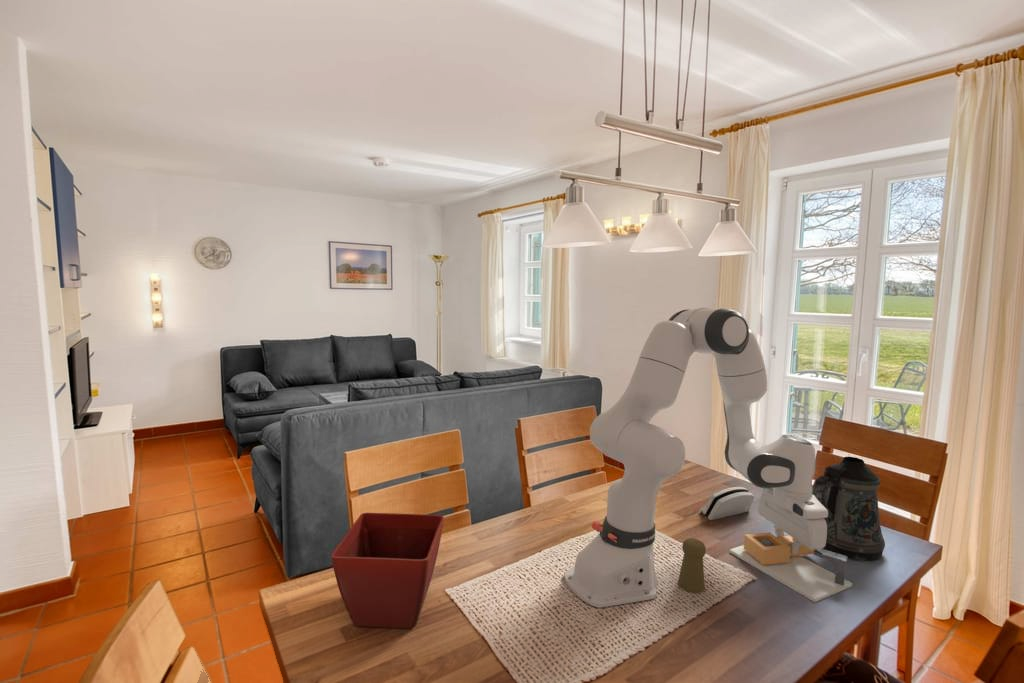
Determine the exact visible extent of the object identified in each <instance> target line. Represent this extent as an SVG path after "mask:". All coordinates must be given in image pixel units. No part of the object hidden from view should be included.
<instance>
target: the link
mask: <svg viewBox="0 0 1024 683" xmlns="http://www.w3.org/2000/svg"><path fill="white" fill-rule="evenodd" d="M792 538H793V537H791V536H790V535H784V536H779V537H777V536H775V535H774V534H773V533H771V532H761V533H750V534H749V533H747V534H744V540H743V545H744V550H746V551H747V552H748V553H749V554H750V555H752V556H753V557H754V558H755V559H756V560H758V561H759V562H760V563H761V564H763V565H766V564H776V563H786V562H789V560H790V556H810V555H814V550H810V549H809V548H807V547H806V546H805V545H803V544H802V545H801V546H800V547H799V551H798V553H797V554H793V553H792V552H790V549H791V547H789V544H793V542H794V541H792ZM763 539H766V540H769V541H771V542H772V546H768V547H765V546H764V545H762V544H761V540H763Z"/></svg>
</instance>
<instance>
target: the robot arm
mask: <svg viewBox="0 0 1024 683" xmlns="http://www.w3.org/2000/svg"><path fill="white" fill-rule="evenodd" d="M695 352H696V353H699V354H705V355H706V354H711V355H712V356H713V357H714V359H715V366H716V372H717V377H718V381H719V385H720V389H721V394H722V395H721V396H722V402H723V403H722V404H723V410H724V418H725V419H724V420H725V426H726V434H727V435H726V437H727V438H726V442H725V447H724V459H725V461H726V463H727V465H728V466H729V467H730V468H731V469H733V470H734V471H736V472H738V473H739V474H740V475H741V476H742V477H744V478H745V479H746V480H748V482H750V483H751V484H752V485H754V486H755V487H758V488H760V489H762V493H761V494H760V497H759V502H758V509H757V511H758V514H759V516H761V517H762V518H764V519H765V520H766V521H768V522H770V523H771V524H773V528H774V532H775V535H776V536H775V537H779V536H785V533H786V534H787V536H791V537H793V538H792V541H794V542H793V544H789V547H791V549H790V552H792V553H793V554H797V553H798V551H799V547H800V546H801V545H802V544H803V545H805V546H806V547H807V548H809V549H810V550H819V549H824V547H825V545H826V538H827V524H826V521H825V519H824V518H826V517H828V510H827V509H826V508H825V507H824V506H823V505H822V504H821V503H820V502H819V501H818V500H817V498H816V497H815V496H814V495H813V479H814V476H815V473H816V458H817V457H816V448H815V447H814V445H813V443H812V442H810V441H808V440H807V439H805V438H803V437H800V436H797V435H792V434H782V435H781V436H780V438H778V439H777V440H775V441H774V442H771V443H768V444H766V445H763V444H761V443H760V442H759V440H758V439H757V438H756V437H755V435H754V433H753V428H752V427H753V426H752V420H751V410H750V409H751V404H753V403H757V402H758V401H759V400H761V399H762V398H763V397H764V396H765V394H766V393H767V391H768V376H767V375H768V374H767V370H766V369H767V368H766V365H765V361H764V356H763V354H762V350H761V346H760V345H759V342H758V340H757V337H756V335H755V333H754V331H752V330H751V329H750V328H749V325H748V322H747V321H746V318H745V317H744V316H743V315H742V313H740V312H739V311H737V310H734V309H730V308H724V307H723V308H708V307H700V308H699V307H698V308H693V309H689V308H688V309H684V310H683V309H682V310H680V311H678V312H675V313H674V314H673V315H671V316H670V318H669V319H668V320H663V321H660V322H657V324H655V326H654V327H653V328H652V330H651V332H650V333H649V335H648V337H647V338H646V341H645V342H644V344H643V347H642V349H641V351H640V354H639V357H638V360H637V363H636V366H635V368H634V371H633V374H632V376H631V379H630V380H629V383H628V386H627V388H625V390H624V392H623V394H622V395H621V397H620V398H619V400H617V402H616V403H615V404H614V405H613V406H612V407H611V408H609V409H608V410H606V411H605V412H602V413H599V414H598V415H597V416H596V417H595V418H594V419H593V422H592V423H591V425H590V428H589V439H590V442H591V444H592V445H593V446H594V447H595V448H596V449H597V450H598V451H600V453H601V454H603V455H604V456H606V457H609V458H610V459H612V460H614V461H617V462H619V463H622V464H623V466H624V473H623V476H622V478H618V479H616V480H615V481H614V482H612V483H611V484H610V485H609V487H608V490H607V498H606V499H607V500H606V515H605V517H604V519H603V522H602V523H600V522H599V521H598V520H594V521H592V523H591V529H593V530H594V531H596V532H597V533H598V532H599V534H598V535H597V536H595V538H593V539H592V540H591V541H590V542H589V543H588V544H587V545H585V547H584V548H583V549H582V550H581V551H579V552H578V553H577V555H576V558H575V563H574V566H573V567H572V568H569V569H567V570H565V571H564V576H563V577H564V582H565V583H566V585H567V587H568V588H569V590H570V591H571V592H572V593H573V594H575V595H576V597H578V598H579V599H580V600H582V601H583V602H584V603H586V604H588V605H590V606H592V607H594V608H598V609H599V608H600V609H601V608H605V607H612V606H613V607H614V606H617V605H623V604H624V605H625V604H631V603H636V602H642V601H649V600H654V599H655V598H656V597H657V591H656V587H657V585H658V578H657V574H656V569H655V559H654V558H655V557H654V542H655V541H656V523H655V514H656V504H657V496H658V493H659V491H660V488H661V486H662V485H663V484H664V482H666V481H667V480H668V479H670V478H672V477H674V476H676V475H677V474H678V473H679V472H680V471H681V469H682V468H683V465H684V464H685V460H686V449H685V444H684V443H683V440H682V439H681V438H679V437H678V436H677V435H675V434H673V433H672V432H670V431H669V430H667V429H665V428H663V427H661V426H657V425H655V424H652V423H650V422H651V420H652V418H654V416H655V415H656V414H658V413H659V412H660V411H663V410H666V409H669V408H670V407H672V406H673V405H674V404H675V402H676V400H677V397H678V394H679V391H680V388H681V386H682V383H683V379H684V377H685V373H686V371H687V368H688V366H689V360H690V358H691V356H692V355H693V354H694V353H695Z"/></svg>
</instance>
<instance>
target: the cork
mask: <svg viewBox="0 0 1024 683" xmlns="http://www.w3.org/2000/svg"><path fill="white" fill-rule="evenodd" d="M706 548H707V547H706V545H705V544H704V542H703V541H701V540H700V539H697V538H685V539H684V541H683V542H682V549H681V550H682V552H683V553H684V554H683V557H682V558H683V559H682V562H681V566H680V567H681V568H680V571H679V576H678V580H677V585H678V586H679V588H681V589H682V590H684V591H685V590H686V592H688V593H691V592H692V593H691V594H700V593H703V592H704V591H705V588H706V587H705V586H706V585H705V572H704V557H705V555H706V552H707V551H706V550H707V549H706Z"/></svg>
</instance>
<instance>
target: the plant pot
mask: <svg viewBox="0 0 1024 683" xmlns="http://www.w3.org/2000/svg"><path fill="white" fill-rule="evenodd" d="M444 518H445V517H444V516H443V515H440V514H424V513H423V514H421V513H420V514H419V513H418V514H417V513H415V514H414V513H395V512H394V513H393V512H391V513H390V512H389V513H388V512H386V513H385V512H363V513H361V514H360V515H359V516H358V518H357V519H356V521H355V522H354V523H353V525H352V526H351V528H349V530H348V531H347V533H346V534H345V536H344V537H343V538H342V540H341V541H340V542H339V544H338V545H337V546H336V548H335V549H334V550H333V551H332V553H331V562H332V566H333V567H332V568H333V570H334V571H333V572H334V575H335V579H336V584H337V587H338V590H339V594H340V595H341V599H342V602H343V604H344V607H345V609H346V611H347V613H348V615H349V618H350V620H351V621H352V624H353V625H354V626H356V627H369V628H371V627H373V628H391V629H394V628H395V629H412V628H415V627H416V626H417V624H418V621H419V618H420V615H421V612H422V608H423V605H424V602H425V599H426V596H427V593H428V591H429V588H430V584H431V581H432V578H433V574H434V570H435V566H436V562H437V558H438V553H439V549H440V544H441V539H442V533H443V526H444Z"/></svg>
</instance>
